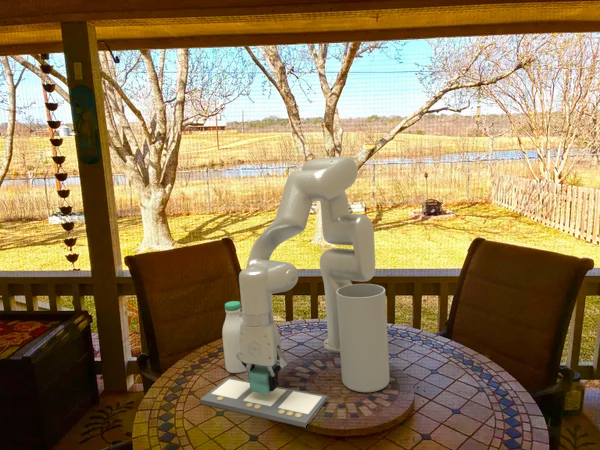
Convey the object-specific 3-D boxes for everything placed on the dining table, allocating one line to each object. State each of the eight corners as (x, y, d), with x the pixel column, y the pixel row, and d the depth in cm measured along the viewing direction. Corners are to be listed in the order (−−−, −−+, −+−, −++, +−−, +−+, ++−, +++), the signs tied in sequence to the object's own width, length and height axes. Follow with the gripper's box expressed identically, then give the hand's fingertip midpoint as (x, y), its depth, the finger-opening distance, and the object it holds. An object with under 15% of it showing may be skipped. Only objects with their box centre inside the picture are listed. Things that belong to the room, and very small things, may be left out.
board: (228, 381, 121) (227, 376, 121) (327, 400, 107) (327, 394, 107) (200, 403, 110) (199, 398, 110) (306, 427, 97) (305, 421, 97)
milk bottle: (247, 374, 124) (240, 307, 122) (221, 373, 126) (214, 307, 123) (255, 362, 132) (249, 298, 129) (231, 361, 133) (224, 299, 131)
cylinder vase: (361, 366, 124) (356, 281, 121) (399, 379, 115) (394, 288, 112) (332, 383, 115) (326, 292, 112) (370, 399, 106) (365, 301, 103)
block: (261, 381, 113) (259, 363, 112) (277, 384, 110) (276, 366, 110) (250, 391, 108) (248, 372, 108) (267, 394, 106) (265, 375, 105)
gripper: (220, 319, 108) (227, 388, 110) (280, 326, 100) (286, 400, 102) (238, 309, 114) (244, 375, 117) (295, 315, 106) (300, 385, 109)
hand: (264, 386), depth 109 cm, fingers closed on block, 5 cm apart
